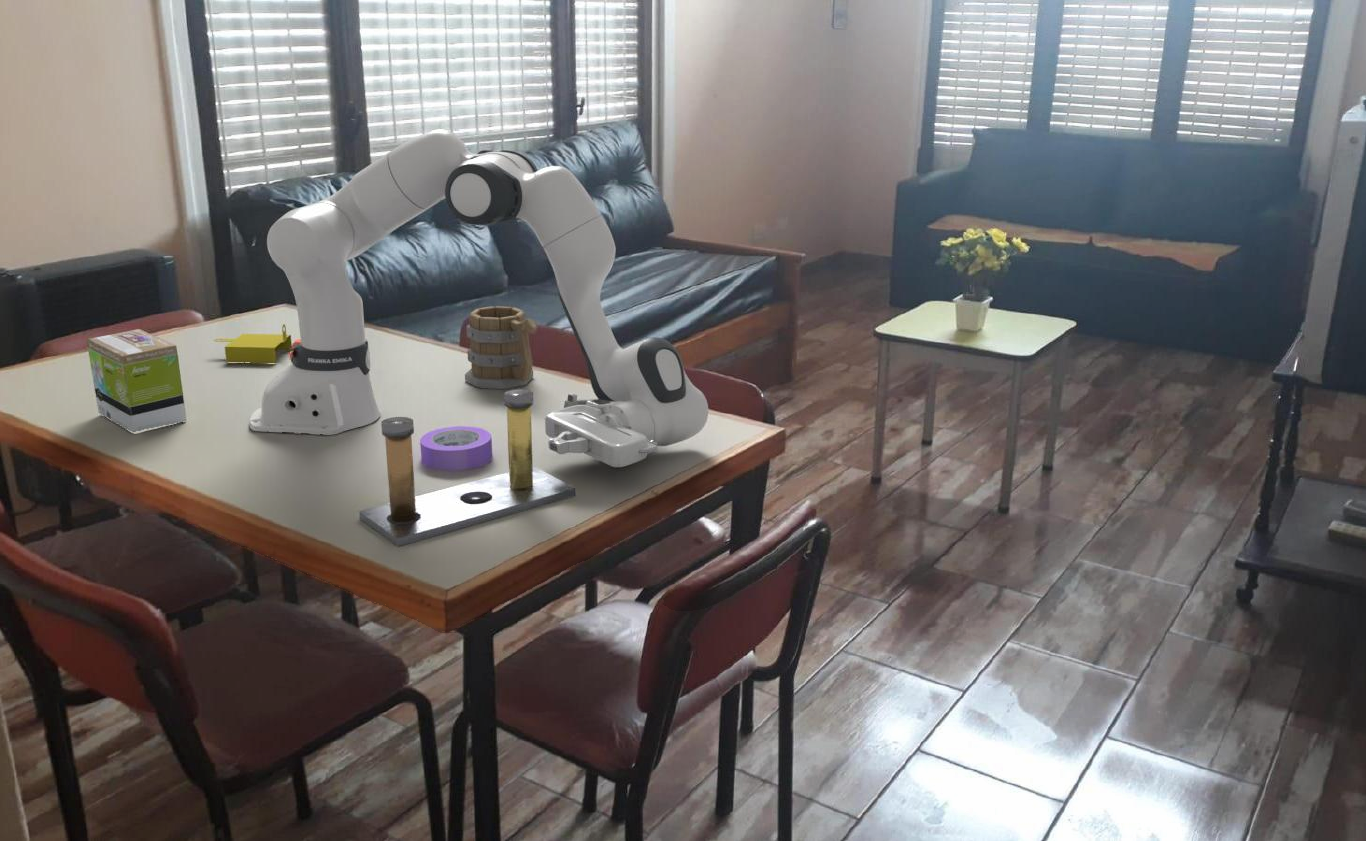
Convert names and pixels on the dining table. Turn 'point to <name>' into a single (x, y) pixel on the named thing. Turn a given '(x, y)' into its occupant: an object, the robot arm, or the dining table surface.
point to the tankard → (499, 348)
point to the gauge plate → (466, 506)
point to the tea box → (137, 379)
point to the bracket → (256, 347)
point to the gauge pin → (519, 437)
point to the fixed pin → (400, 467)
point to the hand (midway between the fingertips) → (553, 447)
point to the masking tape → (456, 448)
